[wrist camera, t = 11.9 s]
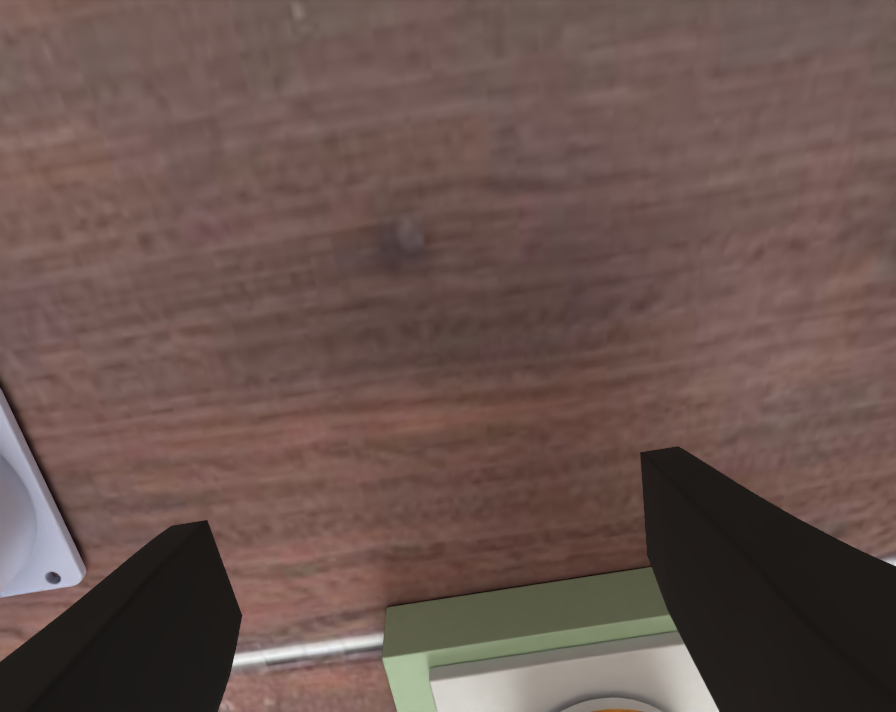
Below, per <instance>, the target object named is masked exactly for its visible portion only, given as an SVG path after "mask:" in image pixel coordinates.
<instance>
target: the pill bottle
mask: <svg viewBox="0 0 896 712" xmlns="http://www.w3.org/2000/svg"><path fill="white" fill-rule="evenodd" d="M561 712H662V711H660V710H659V709H657V708H655V707H653V706H651V705H649V704H646V703H643V702H640V701H636V700H633V699H625V698H601V699H594V700H589V701H585V702H581V703H578V704H575V705H573V706H571V707H569V708H567V709H565V710H563V711H561Z"/></svg>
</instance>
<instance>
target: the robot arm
mask: <svg viewBox="0 0 896 712" xmlns="http://www.w3.org/2000/svg"><path fill="white" fill-rule="evenodd" d="M640 455H641V470H642V484H643V499H644V513H645V528H646V543H647V555H648V558H649V561H650V564H651V567H652V569H653V572H654V575H655V578H656V581H657V583H658V586H659V589H660V591H661V594H662V597H663V599H664V602H665V605H666V607H667V610H668V612H669V614H670V616H671V618H672V620H673V622H674V624H675V626H676V628H677V630H678V632H679V634H680V636H681V638H682V640H683V642H684V644H685V646H686V648H687V650H688V652H689V654H690V656H691V658H692V660H693V662H694V664H695V666H696V667H697V669H698V671H699V673H700V675H701V677H702V679H703V681H704V683H705V685H706V687H707V689H708V691H709V693H710V695H711V697H712V698H713V700H714V702H715V704H716V706H717V708H718V710H719V712H896V566H894V565H891V564H889V563H887V562H884V561H882V560H880V559H878V558H875V557H873V556H871V555H869V554H867V553H864V552H862V551H860V550H858V549H856V548H854V547H852V546H850V545H848V544H846V543H844V542H842V541H840V540H838V539H836V538H834V537H832V536H830V535H828V534H826V533H824V532H822V531H820V530H819V529H817V528H815V527H813V526H811V525H809V524H807V523H805V522H803V521H801V520H800V519H798V518H796V517H794V516H792V515H791V514H789V513H787V512H785V511H783V510H782V509H780V508H778V507H776V506H775V505H773V504H771V503H770V502H768V501H766V500H764V499H763V498H761V497H759V496H758V495H756V494H754V493H753V492H751V491H749V490H748V489H746V488H745V487H743V486H741V485H740V484H738V483H736V482H735V481H733V480H732V479H730V478H728V477H727V476H725V475H724V474H722V473H720V472H719V471H717V470H716V469H714V468H713V467H711V466H709V465H708V464H706V463H705V462H703V461H701V460H700V459H698V458H697V457H695V456H694V455H692V454H690V453H689V452H687V451H685V450H684V449H682V448H680V447H672V448H665V449H659V450H652V451H646V452H640ZM53 572H55V573H57V574H58V575H59V576H57V575H55V574H54V573H53ZM85 574H86V567H85V565H84V563H83V561H82V559H81V557H80V554H79V552H78V550H77V548H76V546H75V544H74V542H73V540H72V538H71V535H70V533H69V531H68V529H67V527H66V525H65V523H64V521H63V519H62V516H61V514H60V512H59V510H58V508H57V506H56V504H55V502H54V500H53V497H52V495H51V493H50V491H49V489H48V487H47V485H46V483H45V481H44V478H43V476H42V474H41V472H40V470H39V468H38V466H37V464H36V462H35V459H34V457H33V455H32V453H31V451H30V449H29V447H28V445H27V443H26V440H25V438H24V436H23V434H22V432H21V430H20V428H19V426H18V424H17V421H16V419H15V417H14V415H13V413H12V411H11V409H10V407H9V405H8V402H7V400H6V398H5V396H4V394H3V392H2V390H1V388H0V597H7V596H13V595H19V594H26V593H32V592H38V591H45V590H51V589H57V588H64V587H70V586H74V585H77V584H79V583H80V582H81V581H82V579H83V578H84V576H85ZM241 619H242V614H241V611H240V608H239V606H238V603H237V600H236V598H235V595H234V592H233V589H232V587H231V584H230V581H229V578H228V576H227V573H226V570H225V567H224V565H223V562H222V559H221V557H220V554H219V551H218V548H217V546H216V543H215V540H214V537H213V535H212V532H211V529H210V526H209V524H208V521H207V520H205V521H199V522H192V523H186V524H180V525H173V526H171V527H169V528H168V529H166V530H165V531H163V532H162V533H161V534H159V535H158V536H157V537H155V538H154V539H153V540H151V541H150V542H149V543H147V544H146V545H145V546H144V547H142V548H141V549H140V550H139V551H137V552H136V553H135V554H134V555H133V556H131V557H130V558H129V559H128V560H127V561H125V562H124V563H123V564H122V565H121V566H119V567H118V568H117V569H116V570H115V571H113V572H112V573H111V574H110V575H109V576H107V577H106V578H105V579H104V580H102V581H101V582H100V583H99V584H98V585H96V586H95V587H94V588H93V589H92V590H90V591H89V592H88V593H87V594H86V595H84V596H83V597H82V598H81V599H80V600H78V601H77V602H76V603H75V604H73V605H72V606H71V607H70V608H69V609H67V610H66V611H65V612H64V613H63V614H61V615H60V616H59V617H57V618H56V619H55V620H54V621H52V622H51V623H50V624H48V625H47V626H46V627H45V628H43V629H42V630H41V631H39V632H38V633H37V634H36V635H34V636H33V637H32V638H30V639H29V640H28V641H27V642H25V643H24V644H23V645H21V646H20V647H19V648H18V649H16V650H15V651H14V652H13V653H11V654H10V655H9V656H7V657H6V658H5V659H4V660H2V661H1V662H0V712H218V709H219V706H220V703H221V700H222V697H223V694H224V691H225V688H226V685H227V682H228V679H229V676H230V672H231V668H232V664H233V659H234V655H235V650H236V645H237V640H238V635H239V629H240V624H241Z"/></svg>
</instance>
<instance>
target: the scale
mask: <svg viewBox="0 0 896 712" xmlns="http://www.w3.org/2000/svg"><path fill="white" fill-rule="evenodd" d="M382 660H383V664H384V667H385V671H386V674H387V678H388V682H389V685H390V689H391V692H392V696H393V699H394V703H395V706H396V710H397V712H561V711H563V710H565V709H567V708H569V707H571V706H573V705H575V704H578V703H581V702H585V701H589V700H594V699H601V698H625V699H633V700H636V701H640V702H643V703H646V704H649V705H651V706H653V707H655V708H657V709H659V710H660V711H662V712H719V710H718V708H717V706H716V704H715V702H714V700H713V698H712V697H711V695H710V693H709V691H708V689H707V687H706V685H705V683H704V681H703V679H702V677H701V675H700V673H699V671H698V669H697V667H696V666H695V664H694V662H693V660H692V658H691V656H690V654H689V652H688V650H687V648H686V646H685V644H684V642H683V640H682V638H681V636H680V634H679V632H678V630H677V628H676V626H675V624H674V622H673V620H672V618H671V616H670V614H669V612H668V610H667V607H666V605H665V602H664V599H663V597H662V594H661V591H660V589H659V586H658V583H657V581H656V578H655V575H654V572H653V569H652V567H648V568H641V569H635V570H628V571H621V572H615V573H608V574H602V575H595V576H589V577H582V578H576V579H569V580H563V581H556V582H550V583H543V584H536V585H530V586H523V587H517V588H510V589H504V590H497V591H491V592H484V593H478V594H471V595H465V596H458V597H451V598H445V599H438V600H432V601H425V602H419V603H412V604H406V605H399V606H393V607H387V609H386V620H385V630H384V641H383V651H382Z"/></svg>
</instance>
